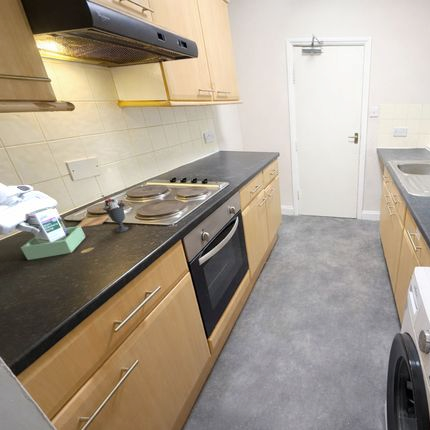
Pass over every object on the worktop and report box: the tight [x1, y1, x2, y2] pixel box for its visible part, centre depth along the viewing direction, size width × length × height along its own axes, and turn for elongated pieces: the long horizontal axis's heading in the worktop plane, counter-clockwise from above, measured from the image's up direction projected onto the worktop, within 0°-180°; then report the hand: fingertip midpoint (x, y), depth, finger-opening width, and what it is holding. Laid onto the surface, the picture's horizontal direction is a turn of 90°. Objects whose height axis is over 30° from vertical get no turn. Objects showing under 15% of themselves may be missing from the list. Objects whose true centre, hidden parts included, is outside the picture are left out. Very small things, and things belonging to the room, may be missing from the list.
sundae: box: [101, 194, 129, 233], centre depth 100 cm, size 7×7×15 cm
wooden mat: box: [76, 214, 110, 228], centre depth 110 cm, size 9×9×1 cm
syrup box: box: [26, 207, 69, 244], centre depth 88 cm, size 6×6×14 cm
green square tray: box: [20, 225, 86, 261], centre depth 90 cm, size 11×11×5 cm
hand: (49, 226), depth 88 cm, fingers closed on syrup box, 7 cm apart
